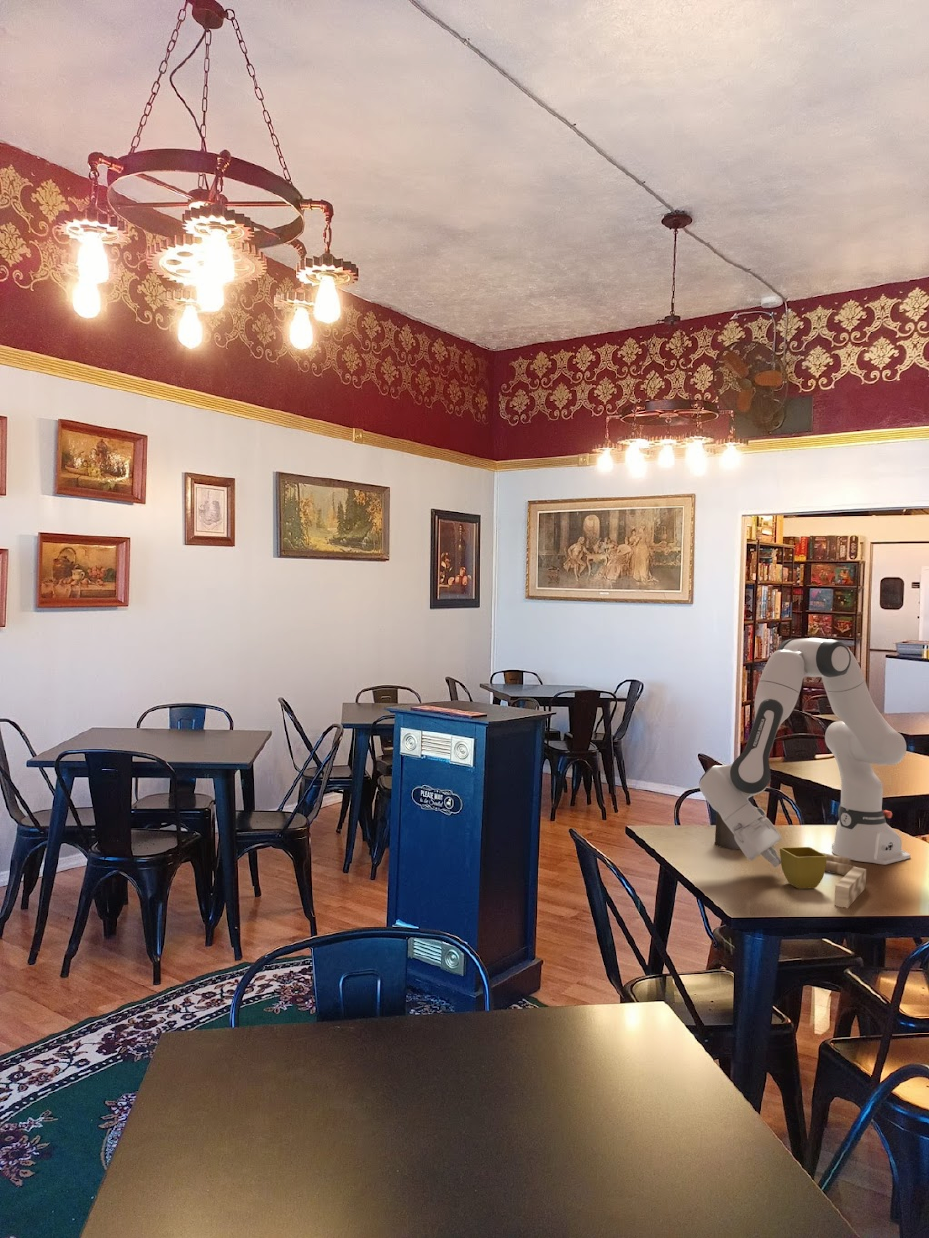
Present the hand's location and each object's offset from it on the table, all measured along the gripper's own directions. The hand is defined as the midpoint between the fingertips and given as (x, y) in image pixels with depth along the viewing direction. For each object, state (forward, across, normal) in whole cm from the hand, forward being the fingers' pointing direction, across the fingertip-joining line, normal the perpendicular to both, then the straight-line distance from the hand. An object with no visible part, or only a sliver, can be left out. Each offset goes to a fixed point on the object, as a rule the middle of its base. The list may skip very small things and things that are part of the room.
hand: (779, 864), depth 233 cm
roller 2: (+9, +20, -6) cm, 23 cm away
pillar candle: (-12, +25, +18) cm, 33 cm away
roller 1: (+9, +26, -3) cm, 28 cm away
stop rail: (+16, 0, -10) cm, 18 cm away
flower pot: (+7, 0, -1) cm, 7 cm away
